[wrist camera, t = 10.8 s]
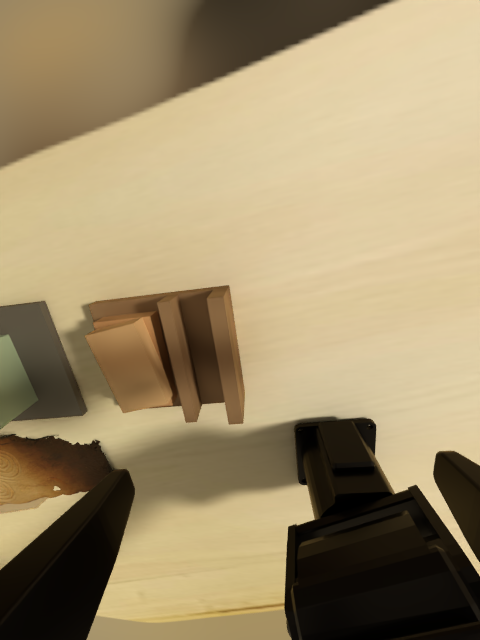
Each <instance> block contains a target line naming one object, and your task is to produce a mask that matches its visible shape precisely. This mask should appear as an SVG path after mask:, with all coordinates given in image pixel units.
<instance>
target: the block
mask: <svg viewBox="0 0 480 640" xmlns="http://www.w3.org/2000/svg"><path fill="white" fill-rule="evenodd" d="M37 401H38V398H37V396H36V394H35V391H34V389H33V387H32V385H31V382H30V380H29V378H28V376H27V374H26V371H25V369H24V367H23V365H22V363H21V360H20V358H19V356H18V354H17V352H16V349H15V347H14V345H13V343H12V341H11V338H10V336H9V334H7V335H0V429H1V428H3V427H4V426H5V425H7V424H8V423H9V422H10V421H12V420H13V419H14V418H16V417H17V416H18V415H20V414H21V413H22V412H23V411H25V410H26V409H27V408H29V407H30V406H31V405H33V404H34V403H35V402H37Z"/></svg>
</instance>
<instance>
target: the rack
mask: <svg viewBox="0 0 480 640" xmlns="http://www.w3.org/2000/svg"><path fill="white" fill-rule="evenodd" d="M89 308H90V311H91V314H92V317H93V320H94V322H95V321H97V320H99V319H101V318H102V317H108V316H117V315H125V314H134V313H143V312H151V311H157V313H158V317H159V321H160V326H161V330H162V334H163V338H164V342H165V346H166V350H167V354H168V358H169V362H170V366H171V370H172V375H173V379H174V383H175V387H176V391H177V398H176V400H175V402H174V404H173V405H172V406H182V408H183V413H184V417H185V421H186V423H187V422H197V419H198V416H199V413H200V409H201V406H202V404H210V403H223V402H225V405H226V411H227V416H228V422H229V424H242V423H243V418H244V400H245V390H244V384H243V377H242V370H241V363H240V356H239V349H238V343H237V336H236V329H235V322H234V315H233V308H232V301H231V295H230V288H229V285H228V286H219V287H211V288H203V289H195V290H186V291H178V292H170V293H162V294H153V295H145V296H137V297H129V298H120V299H112V300H104V301H96V302H94V303H92V304H89ZM172 406H160V407H172ZM150 408H159V407H150ZM146 409H147V408H146Z"/></svg>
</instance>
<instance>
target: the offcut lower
mask: <svg viewBox="0 0 480 640" xmlns="http://www.w3.org/2000/svg"><path fill="white" fill-rule="evenodd" d="M141 317H142V318H143V320H144V323H145V325H146V328H147V330H148V332H149V335H150V337H151V340H152V342H153V344H154V347H155V349H156V352H157V354H158V356H159V359H160V361H161V364H162V366H163V368H164V371H165V373H166V376H167V378H168V381H169V383H170V385H171V388H172V390H173V395H172V397H171V399H170V401H169V403H168V404H165V405H160V406H172V405H173V404H174V402H175V400H176V398H177V391H176V387H175V383H174V379H173V375H172V370H171V366H170V362H169V358H168V354H167V350H166V346H165V342H164V338H163V334H162V330H161V326H160V321H159V317H158V313H157V311H151V312H143V313H134V314H125V315H117V316H108V317H102V318H101V319H99V320H97V321H95V322H93V325H94V328H95V330H96V329H99V328H102V327H106V326H110V325H114V324H118V323H122V322H125V321H129V320H133V319H137V318H141ZM160 406H155V407H160Z"/></svg>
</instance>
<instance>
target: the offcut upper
mask: <svg viewBox="0 0 480 640" xmlns="http://www.w3.org/2000/svg"><path fill="white" fill-rule="evenodd" d="M85 338H86V340H87V342H88V344H89V346H90V348H91V350H92V352H93V354H94V356H95V358H96V360H97V362H98V364H99V366H100V368H101V370H102V372H103V374H104V376H105V378H106V380H107V382H108V384H109V386H110V388H111V390H112V392H113V394H114V396H115V398H116V400H117V402H118V404H119V406H120V408H121V410H122V412H123V413H127V412H131V411H136V410H141V409H146V408H150V407H155V406H160V405H165V404H168V403H169V401H170V399H171V397H172V395H173V390H172V388H171V385H170V383H169V381H168V378H167V376H166V373H165V371H164V368H163V366H162V364H161V361H160V359H159V356H158V354H157V352H156V349H155V347H154V344H153V342H152V340H151V337H150V335H149V332H148V330H147V328H146V325H145V323H144V320H143V318H142V317H141V318H137V319H133V320H129V321H125V322H122V323H118V324H114V325H110V326H106V327H102V328H99V329H96V330H94V331H92V332H91V333H89V334H87V335H86V336H85Z"/></svg>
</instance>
